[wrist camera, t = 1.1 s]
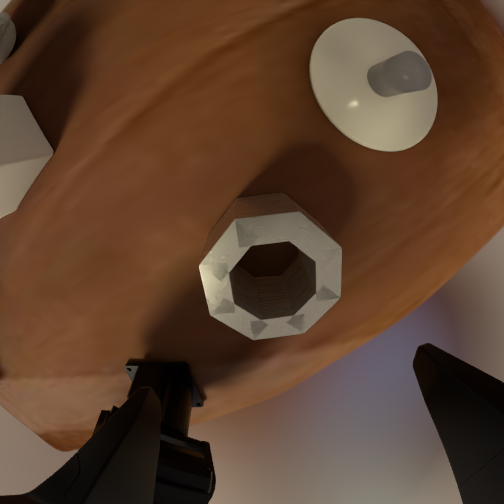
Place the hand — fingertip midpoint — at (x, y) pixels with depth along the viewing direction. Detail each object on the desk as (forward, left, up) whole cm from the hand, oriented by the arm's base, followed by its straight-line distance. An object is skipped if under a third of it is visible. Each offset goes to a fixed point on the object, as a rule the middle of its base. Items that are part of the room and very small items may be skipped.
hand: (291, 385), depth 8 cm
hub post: (+11, -9, -12) cm, 18 cm away
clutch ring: (0, 0, -12) cm, 12 cm away
